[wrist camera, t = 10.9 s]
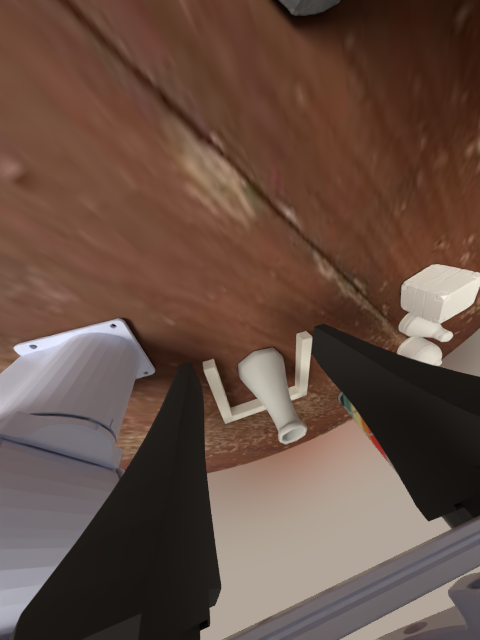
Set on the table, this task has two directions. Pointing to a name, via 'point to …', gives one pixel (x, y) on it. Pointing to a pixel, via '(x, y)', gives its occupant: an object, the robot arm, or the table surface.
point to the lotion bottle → (451, 518)
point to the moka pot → (308, 6)
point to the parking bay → (255, 405)
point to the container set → (433, 308)
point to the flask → (272, 391)
